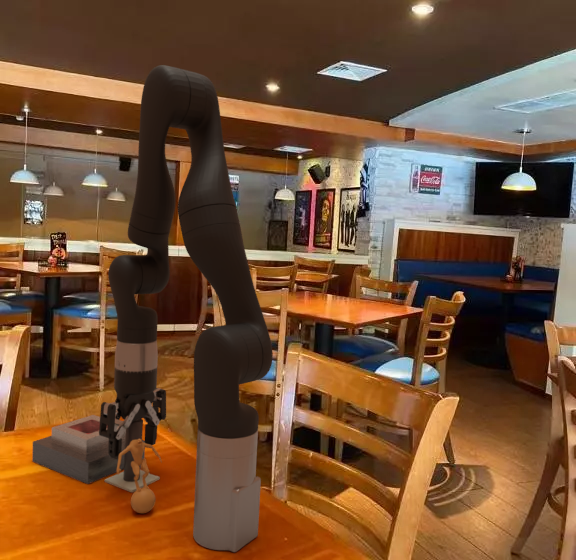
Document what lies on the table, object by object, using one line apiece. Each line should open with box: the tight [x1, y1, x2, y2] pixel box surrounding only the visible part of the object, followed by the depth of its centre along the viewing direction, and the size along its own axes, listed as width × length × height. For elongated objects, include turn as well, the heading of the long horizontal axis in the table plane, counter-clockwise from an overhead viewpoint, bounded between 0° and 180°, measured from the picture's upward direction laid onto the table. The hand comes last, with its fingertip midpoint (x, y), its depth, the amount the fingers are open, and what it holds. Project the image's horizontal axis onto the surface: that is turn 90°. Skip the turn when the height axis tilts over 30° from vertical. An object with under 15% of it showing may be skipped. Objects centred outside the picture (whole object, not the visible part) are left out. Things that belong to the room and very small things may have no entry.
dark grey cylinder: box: [123, 418, 144, 482], centre depth 109 cm, size 3×3×11 cm
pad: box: [104, 469, 161, 493], centre depth 109 cm, size 7×7×1 cm
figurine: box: [116, 439, 163, 514], centre depth 98 cm, size 8×6×12 cm
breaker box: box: [31, 414, 146, 485], centre depth 117 cm, size 16×14×7 cm
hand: (133, 450), depth 109 cm, fingers open, 8 cm apart
